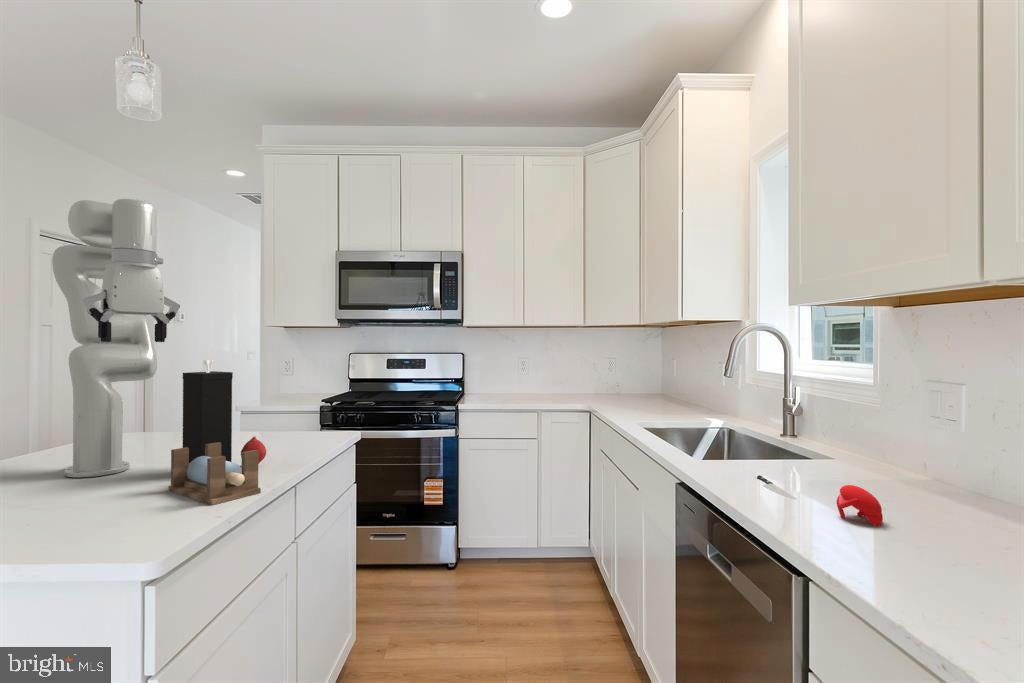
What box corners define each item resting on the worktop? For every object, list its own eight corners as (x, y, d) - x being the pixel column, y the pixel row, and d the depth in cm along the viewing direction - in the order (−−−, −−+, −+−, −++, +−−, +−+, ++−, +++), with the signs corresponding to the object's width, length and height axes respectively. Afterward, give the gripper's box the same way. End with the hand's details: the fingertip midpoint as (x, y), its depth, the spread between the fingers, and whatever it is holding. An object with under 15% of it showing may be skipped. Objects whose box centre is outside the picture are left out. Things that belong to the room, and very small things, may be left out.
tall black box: (181, 473, 125) (182, 359, 125) (213, 466, 132) (213, 358, 132) (200, 477, 122) (201, 360, 122) (232, 470, 129) (232, 359, 129)
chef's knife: (787, 504, 105) (802, 504, 105) (787, 499, 105) (801, 498, 105) (748, 479, 125) (760, 478, 124) (748, 474, 125) (760, 474, 124)
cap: (823, 497, 98) (845, 488, 93) (842, 484, 100) (865, 474, 95) (853, 536, 95) (878, 529, 90) (872, 521, 97) (898, 514, 92)
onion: (235, 469, 129) (236, 437, 129) (250, 463, 135) (251, 433, 135) (256, 470, 128) (256, 438, 128) (270, 464, 134) (271, 434, 134)
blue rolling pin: (177, 483, 113) (177, 456, 112) (206, 477, 118) (205, 451, 118) (224, 498, 102) (224, 468, 102) (253, 490, 107) (252, 462, 107)
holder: (168, 490, 111) (169, 449, 111) (216, 480, 119) (216, 441, 119) (212, 505, 101) (212, 459, 101) (260, 492, 109) (260, 451, 109)
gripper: (171, 267, 116) (170, 342, 116) (75, 255, 101) (74, 341, 101) (187, 264, 112) (187, 342, 112) (90, 252, 97) (89, 341, 97)
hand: (133, 341), depth 107 cm, fingers open, 9 cm apart
